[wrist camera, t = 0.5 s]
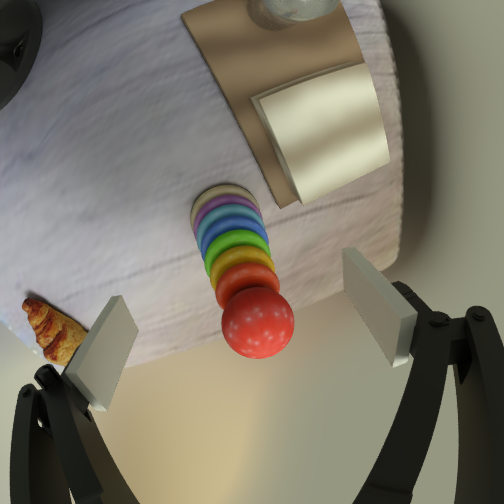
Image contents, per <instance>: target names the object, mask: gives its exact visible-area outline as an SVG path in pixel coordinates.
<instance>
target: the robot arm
mask: <svg viewBox="0 0 504 504" xmlns="http://www.w3.org/2000/svg"><path fill="white" fill-rule="evenodd" d="M41 33H42V18H41V13H40V10H39V8H38V6H37V4H36V3H35V2H34V1H33V0H0V110H1V109H2V108H3V107H4V106H5V105H6V104H7V103H8V102H9V101H10V100H11V99H12V98H13V97H14V96H15V94H16V93H17V92H18V90H19V89H20V87H21V86H22V84H23V83H24V81H25V79H26V77H27V75H28V74H29V72H30V69H31V67H32V65H33V63H34V60H35V57H36V55H37V51H38V48H39V44H40V40H41ZM342 260H343V278H344V291H345V293H346V294H347V296H348V297H349V299H350V300H351V302H352V303H353V305H354V307H355V308H356V309H357V311H358V313H359V314H360V316H361V317H362V319H363V321H364V322H365V324H366V325H367V327H368V328H369V330H370V332H371V333H372V335H373V336H374V338H375V340H376V341H377V343H378V344H379V346H380V348H381V349H382V351H383V352H384V354H385V356H386V358H387V359H388V361H389V363H390V364H391V366H392V367H396V366H398V365H401V364H403V363H406V362H407V361H408V357H409V353H410V354H411V355H412V356H413V358H414V360H413V364H412V368H411V371H410V375H409V378H408V381H407V384H406V388H405V391H404V394H403V397H402V400H401V402H400V405H399V408H398V411H397V413H396V416H395V419H394V421H393V424H392V426H391V429H390V431H389V434H388V436H387V438H386V440H385V443H384V445H383V447H382V449H381V452H380V454H379V456H378V458H377V460H376V462H375V464H374V466H373V468H372V470H371V472H370V474H369V476H368V478H367V479H366V481H365V483H364V485H363V486H362V488H361V490H360V492H359V493H358V495H357V497H356V499H355V500H354V502H353V503H352V504H410V503H411V500H412V496H413V494H412V491H413V488H414V485H415V483H416V481H417V478H418V476H419V473H420V471H421V468H422V465H423V462H424V460H425V457H426V454H427V451H428V448H429V445H430V442H431V439H432V436H433V432H434V428H435V425H436V421H437V417H438V414H439V409H440V405H441V401H442V396H443V391H444V385H445V380H446V374H447V368H448V365H453V370H454V377H455V386H456V395H457V408H458V426H459V427H458V429H459V454H458V473H457V484H456V494H455V501H454V504H504V346H503V343H502V340H501V338H500V335H499V333H498V330H497V327H496V324H495V322H494V319H493V317H492V315H491V313H490V311H489V310H487V309H486V308H484V307H482V306H472V307H470V308H469V309H468V310H467V312H466V315H465V317H462V318H454V319H451V318H450V317H449V316H448V315H447V314H445V313H443V312H439V311H437V312H436V311H432V310H431V309H430V308H429V307H428V306H427V305H426V304H425V303H424V302H423V301H422V300H421V299H420V298H419V297H418V296H417V295H416V293H415V292H413V290H412V289H411V288H410V287H408V286H407V285H406V284H404V283H402V282H399V281H397V282H394V283H390V282H389V281H388V280H387V279H386V278H385V277H384V276H383V275H382V274H381V273H380V272H379V271H378V270H377V269H376V268H375V267H374V266H373V265H372V264H371V263H370V262H369V261H368V260H367V259H366V258H365V257H364V256H363V255H362V254H361V253H360V252H359V251H358V250H357V249H356V248H355V247H350V248H345V249H342ZM138 331H139V330H138V328H137V326H136V324H135V322H134V320H133V318H132V316H131V314H130V312H129V310H128V308H127V306H126V304H125V302H124V299H123V297H122V295H119V296H113V297H111V298H110V300H109V301H108V303H107V304H106V306H105V307H104V309H103V310H102V312H101V313H100V315H99V317H98V318H97V320H96V321H95V323H94V324H93V326H92V327H91V329H90V331H89V332H88V334H87V336H86V337H85V339H84V340H83V342H82V343H81V344H80V345H79V346H78V347H77V348H76V350H75V351H74V353H73V355H72V356H71V358H70V361H69V362H68V363H67V365H66V367H65V368H64V370H63V372H62V374H61V376H60V375H59V373H58V372H57V371H56V369H55V368H54V367H53V365H51V364H46V365H43V366H42V367H40V368H39V369H38V370H37V372H36V373H35V376H34V379H35V380H36V381H37V383H38V384H39V385H40V386H41V388H42V389H41V390H37V389H36V387H35V386H34V385H33V384H27V385H24V386H23V387H22V388H21V390H20V391H19V394H18V399H17V405H16V410H15V416H14V423H13V431H12V441H11V453H10V499H11V504H72V502H71V498H70V491H71V493H72V496H73V498H74V500H75V504H140V503H139V502H138V500H137V499H136V497H135V496H134V494H133V493H132V491H131V490H130V488H129V486H128V485H127V483H126V481H125V480H124V478H123V476H122V475H121V473H120V471H119V469H118V468H117V466H116V464H115V462H114V460H113V458H112V457H111V455H110V453H109V451H108V449H107V447H106V445H105V443H104V441H103V438H102V436H101V434H100V432H99V430H98V428H97V425H96V423H95V421H94V418H93V416H92V414H91V412H90V411H89V409H87V408H88V405H89V403H90V404H91V406H92V407H93V408H94V409H95V410H97V411H108V408H109V405H110V402H111V400H112V397H113V394H114V392H115V389H116V386H117V384H118V381H119V378H120V376H121V373H122V370H123V368H124V365H125V363H126V360H127V358H128V355H129V353H130V350H131V348H132V346H133V343H134V341H135V338H136V336H137V334H138ZM38 420H39V421H40V422H41V423H42V427H40V426H39V424H38ZM69 488H70V491H69Z"/></svg>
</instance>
